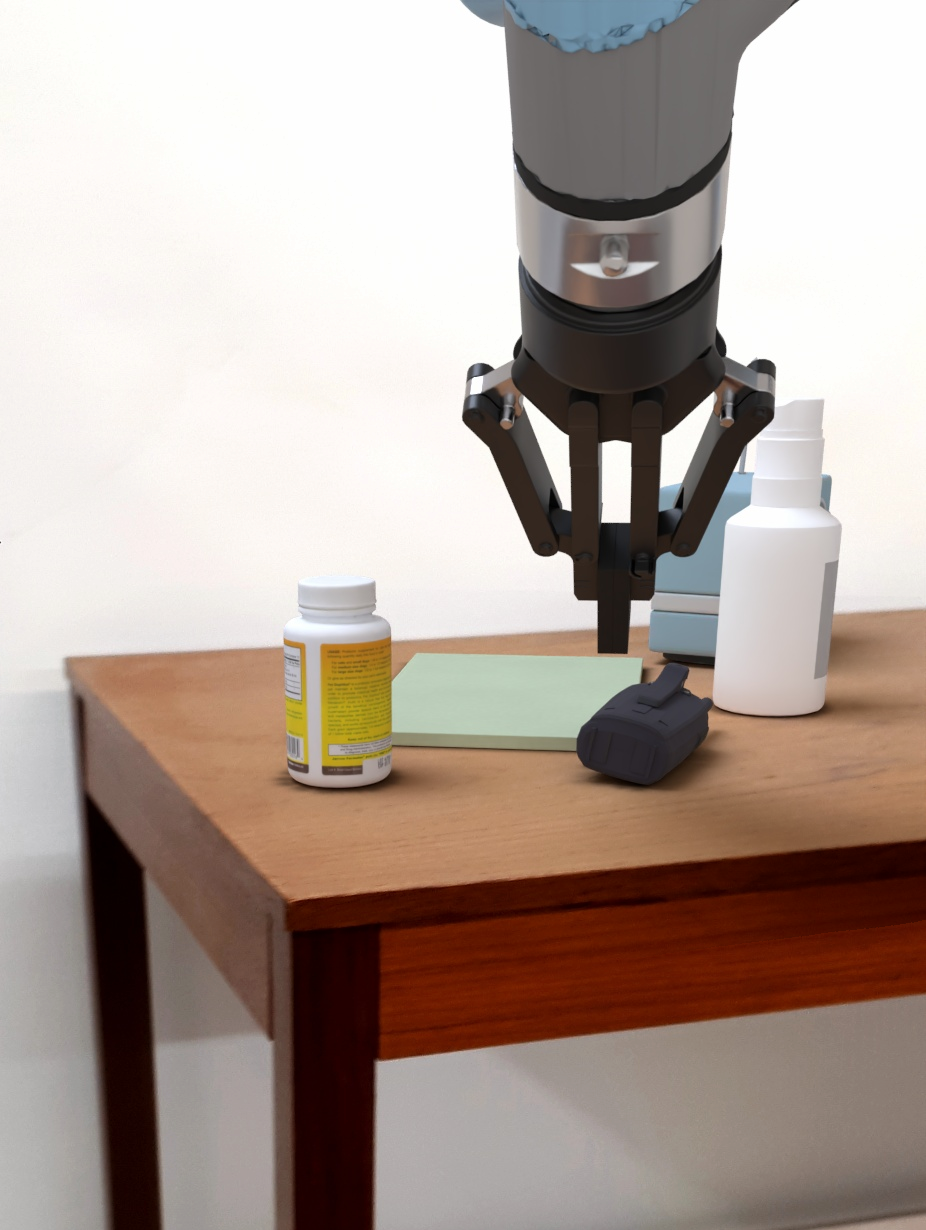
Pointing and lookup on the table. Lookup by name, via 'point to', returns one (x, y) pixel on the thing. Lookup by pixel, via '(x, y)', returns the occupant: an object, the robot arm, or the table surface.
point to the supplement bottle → (338, 684)
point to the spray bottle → (779, 575)
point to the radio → (699, 578)
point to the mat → (503, 699)
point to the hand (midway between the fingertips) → (614, 630)
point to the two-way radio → (645, 729)
